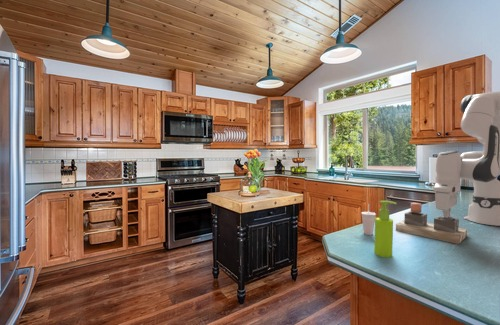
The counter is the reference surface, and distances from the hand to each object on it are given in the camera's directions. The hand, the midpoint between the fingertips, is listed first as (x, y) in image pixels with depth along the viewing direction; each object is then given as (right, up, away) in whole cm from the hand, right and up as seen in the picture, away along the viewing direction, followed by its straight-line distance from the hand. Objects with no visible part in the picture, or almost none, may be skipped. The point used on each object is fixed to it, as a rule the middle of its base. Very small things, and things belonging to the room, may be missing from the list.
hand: (446, 217), depth 112 cm
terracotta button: (-8, +1, +9) cm, 12 cm away
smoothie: (-34, -9, +4) cm, 35 cm away
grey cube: (0, -4, 0) cm, 4 cm away
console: (-4, -9, +5) cm, 11 cm away
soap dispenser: (-39, -10, -20) cm, 45 cm away
